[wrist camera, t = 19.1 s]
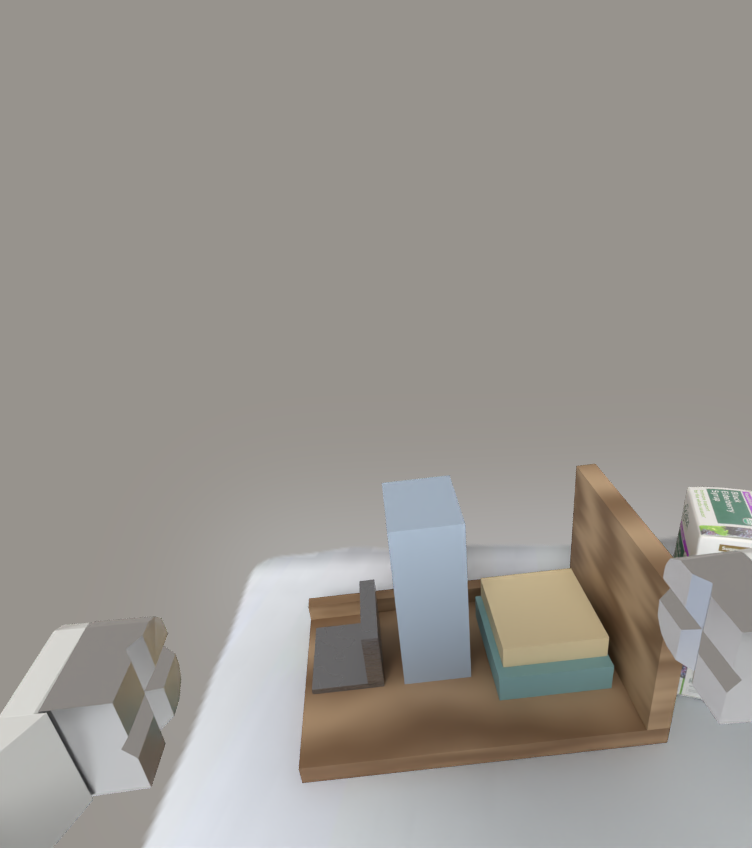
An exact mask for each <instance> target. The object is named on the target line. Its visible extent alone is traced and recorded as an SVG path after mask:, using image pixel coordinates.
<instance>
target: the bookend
mask: <svg viewBox="0 0 752 848" xmlns="http://www.w3.org/2000/svg"><path fill="white" fill-rule="evenodd" d="M359 582H360V620H361V623H357V624H348V625H339V626H330V627H321V628H316V638H315V653H314V667H313V681H312V693H313V694H321V693H330V692H339V691H348V690H357V689H366V688H375V687H384V686H385V685H384V671H383V656H382V642H381V627H380V619H379V611H378V604H377V597H376V589H375V582H374V580H367V581H359Z"/></svg>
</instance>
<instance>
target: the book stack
mask: <svg viewBox="0 0 752 848" xmlns="http://www.w3.org/2000/svg"><path fill="white" fill-rule="evenodd" d="M475 606H476V619H477V622H478V626H479V629H480V633H481V636H482V640H483V644H484V647H485V651H486V654H487V658H488V661H489V665H490V668H491V672H492V675H493V679H494V682H495V686H496V689H497V693H498V697H499V700H509V699H518V698H527V697H536V696H545V695H554V694H563V693H572V692H581V691H590V690H599V689H608V688H612V680H613V672H614V665H613V663H612V661H611V659H610V657H609V655H608V654H607V653H608V645H609V636H608V634H607V632H606V631H605V629H604V627H603V625H602V623H601V621H600V620H599V618H598V616H597V614H596V612H595V611H594V609H593V607H592V605H591V603H590V602H589V600H588V598H587V596H586V594H585V593H584V591H583V589H582V587H581V585H580V584H579V582H578V580H577V578H576V576H575V575H574V573H573V571H572V569H571V568H568V569H559V570H550V571H541V572H532V573H523V574H514V575H505V576H496V577H487V578H481V596H476V597H475Z"/></svg>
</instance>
